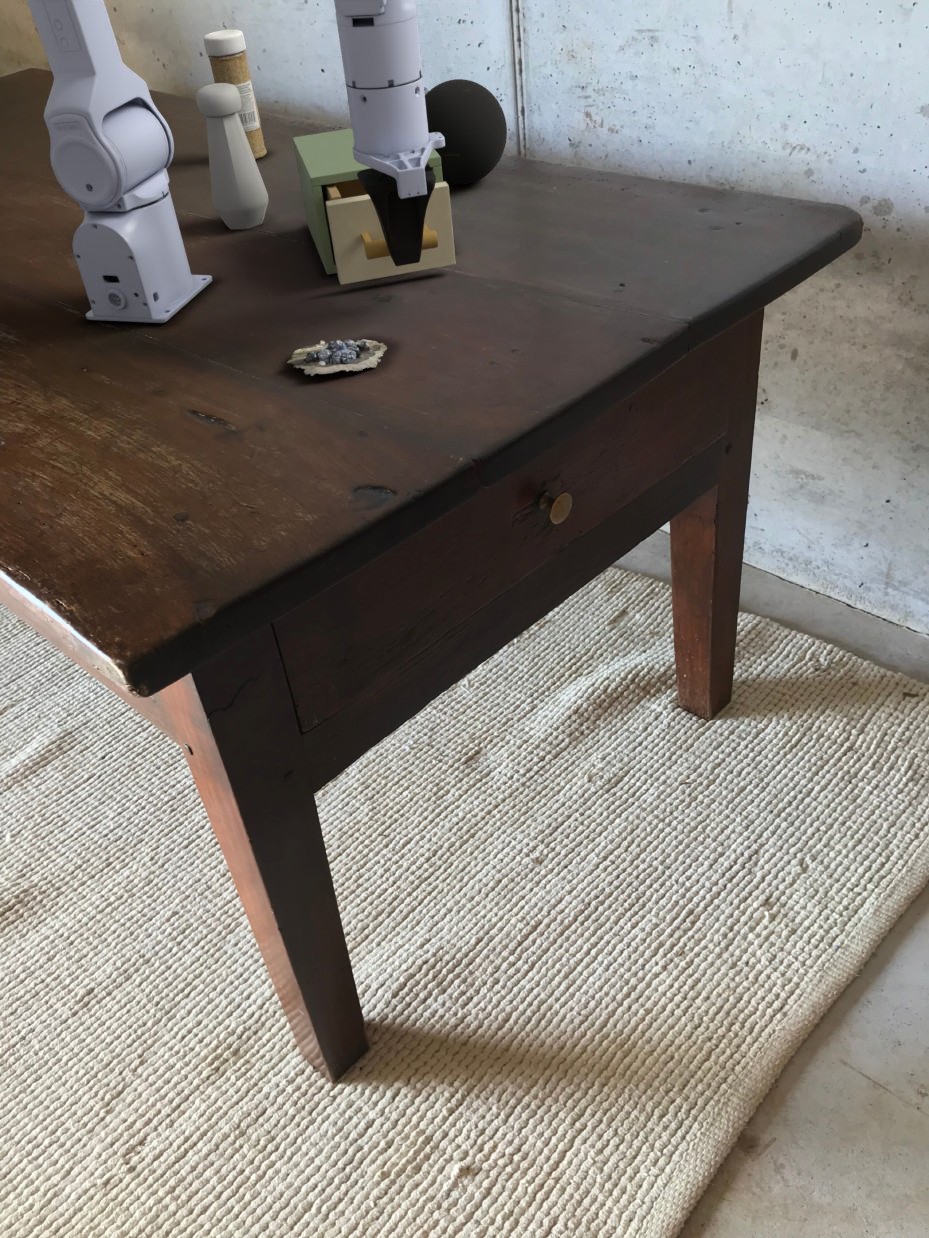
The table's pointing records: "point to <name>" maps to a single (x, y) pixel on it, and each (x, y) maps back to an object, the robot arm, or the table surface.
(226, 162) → the salt shaker
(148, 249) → the robot arm
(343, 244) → the drawer
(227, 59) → the sprinkles bottle
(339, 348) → the blueberries
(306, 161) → the cabinet
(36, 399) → the table surface
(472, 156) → the black sphere
